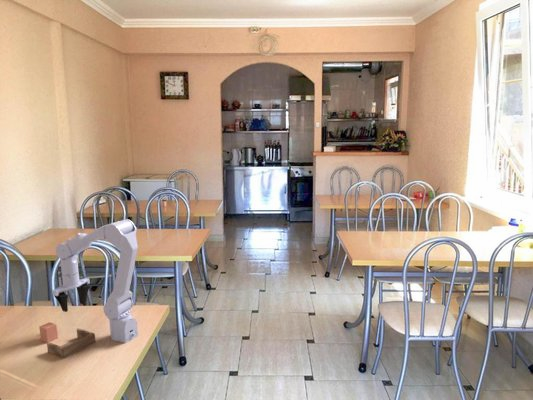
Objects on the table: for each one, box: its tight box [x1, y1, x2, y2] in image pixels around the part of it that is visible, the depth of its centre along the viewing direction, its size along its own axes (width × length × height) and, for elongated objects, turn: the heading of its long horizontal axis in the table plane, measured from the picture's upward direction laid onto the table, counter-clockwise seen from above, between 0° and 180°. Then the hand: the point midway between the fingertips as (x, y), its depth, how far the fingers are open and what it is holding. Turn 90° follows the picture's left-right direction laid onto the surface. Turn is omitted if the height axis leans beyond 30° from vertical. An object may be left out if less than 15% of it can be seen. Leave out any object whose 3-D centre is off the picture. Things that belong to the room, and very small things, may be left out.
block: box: [39, 322, 59, 344], centre depth 164 cm, size 4×4×6 cm
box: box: [46, 328, 96, 359], centre depth 158 cm, size 9×13×4 cm
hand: (73, 307), depth 170 cm, fingers open, 7 cm apart
